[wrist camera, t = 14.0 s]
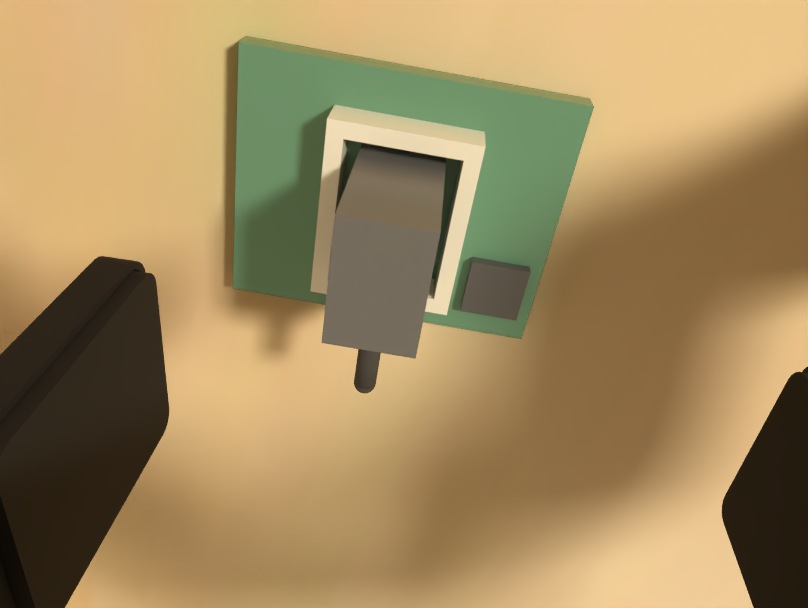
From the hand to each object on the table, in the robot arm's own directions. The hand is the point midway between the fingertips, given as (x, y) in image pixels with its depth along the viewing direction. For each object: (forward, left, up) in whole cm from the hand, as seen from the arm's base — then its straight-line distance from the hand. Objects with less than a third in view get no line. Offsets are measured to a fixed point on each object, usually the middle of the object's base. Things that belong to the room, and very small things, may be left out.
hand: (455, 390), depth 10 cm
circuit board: (+2, +8, -24) cm, 26 cm away
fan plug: (+2, +10, -23) cm, 25 cm away
